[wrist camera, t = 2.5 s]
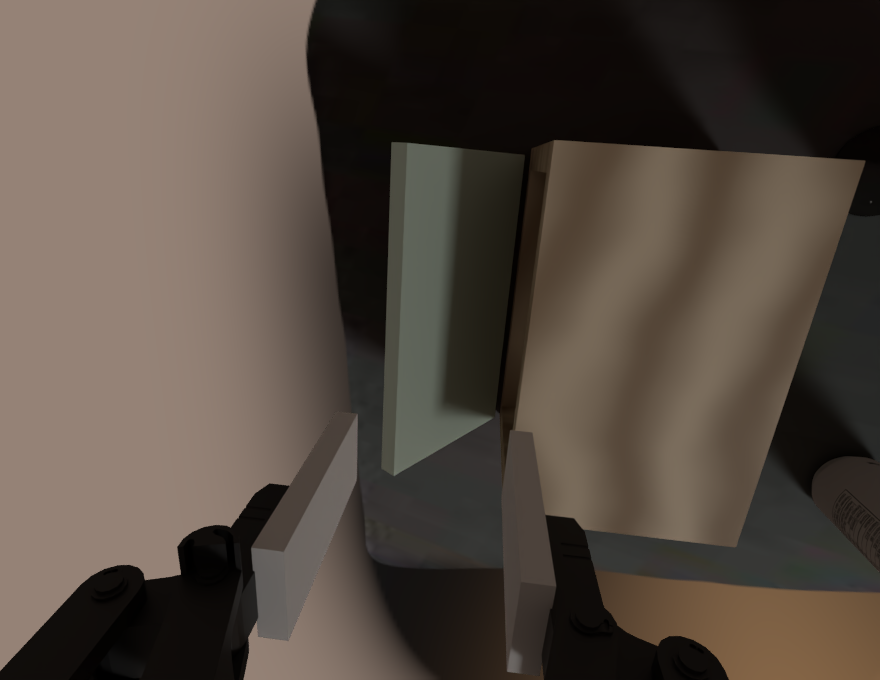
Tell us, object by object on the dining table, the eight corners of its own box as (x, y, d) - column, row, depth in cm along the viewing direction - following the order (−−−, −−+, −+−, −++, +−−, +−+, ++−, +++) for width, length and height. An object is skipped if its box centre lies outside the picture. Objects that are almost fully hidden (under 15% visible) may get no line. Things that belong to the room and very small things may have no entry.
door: (525, 154, 35) (407, 142, 27) (494, 417, 42) (393, 475, 34) (499, 153, 37) (379, 141, 28) (473, 408, 44) (371, 462, 35)
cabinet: (727, 161, 36) (865, 160, 23) (661, 430, 43) (735, 547, 30) (531, 148, 37) (554, 140, 24) (499, 413, 44) (503, 519, 31)
